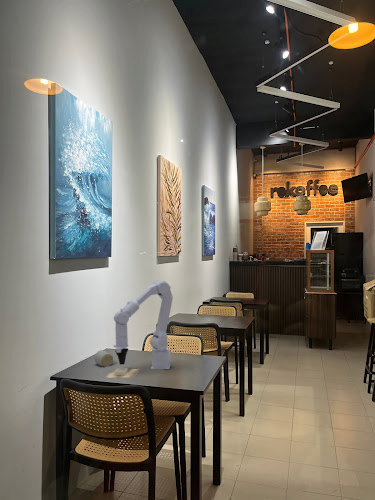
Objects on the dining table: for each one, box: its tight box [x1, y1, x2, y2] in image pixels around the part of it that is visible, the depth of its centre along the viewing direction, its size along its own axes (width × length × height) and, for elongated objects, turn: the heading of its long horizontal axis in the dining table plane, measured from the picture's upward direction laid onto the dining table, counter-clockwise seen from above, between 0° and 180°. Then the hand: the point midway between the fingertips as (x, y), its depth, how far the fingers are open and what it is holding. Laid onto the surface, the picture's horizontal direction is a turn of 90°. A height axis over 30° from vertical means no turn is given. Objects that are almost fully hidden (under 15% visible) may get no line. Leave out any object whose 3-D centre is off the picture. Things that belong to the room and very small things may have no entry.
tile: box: [114, 367, 129, 375], centre depth 194 cm, size 5×2×6 cm
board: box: [104, 368, 141, 379], centre depth 194 cm, size 14×14×1 cm
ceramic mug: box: [93, 349, 117, 368], centre depth 212 cm, size 11×8×8 cm
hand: (122, 364), depth 197 cm, fingers closed
